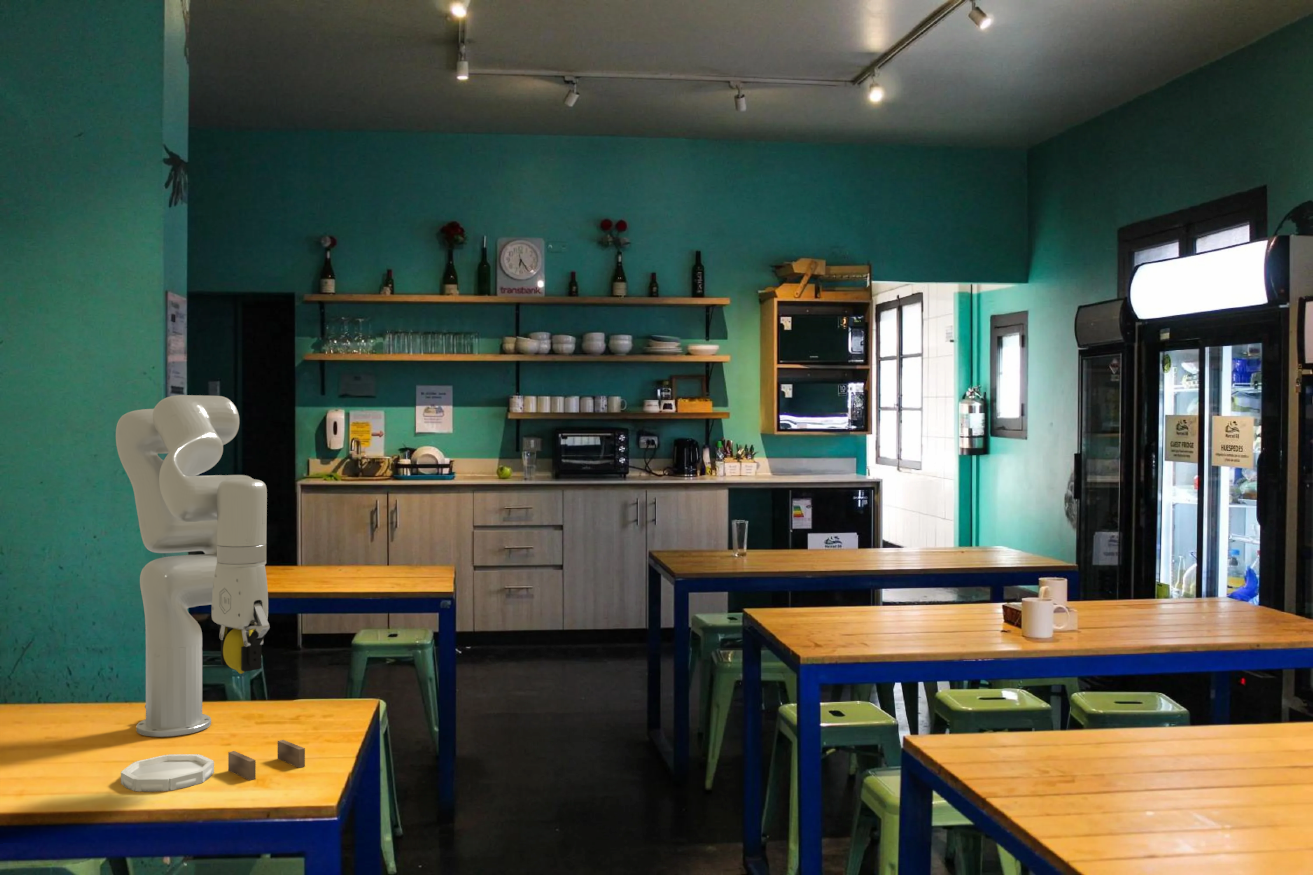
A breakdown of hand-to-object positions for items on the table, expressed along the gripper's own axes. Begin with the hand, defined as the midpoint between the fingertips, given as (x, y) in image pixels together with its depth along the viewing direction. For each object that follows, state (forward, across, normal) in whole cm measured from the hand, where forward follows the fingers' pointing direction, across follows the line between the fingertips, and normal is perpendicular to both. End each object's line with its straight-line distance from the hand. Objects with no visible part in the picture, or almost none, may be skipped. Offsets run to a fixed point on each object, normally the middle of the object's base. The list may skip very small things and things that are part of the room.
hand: (240, 665), depth 178 cm
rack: (+17, +3, +3) cm, 17 cm away
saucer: (+17, -5, -10) cm, 20 cm away
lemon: (+1, 0, 0) cm, 1 cm away
